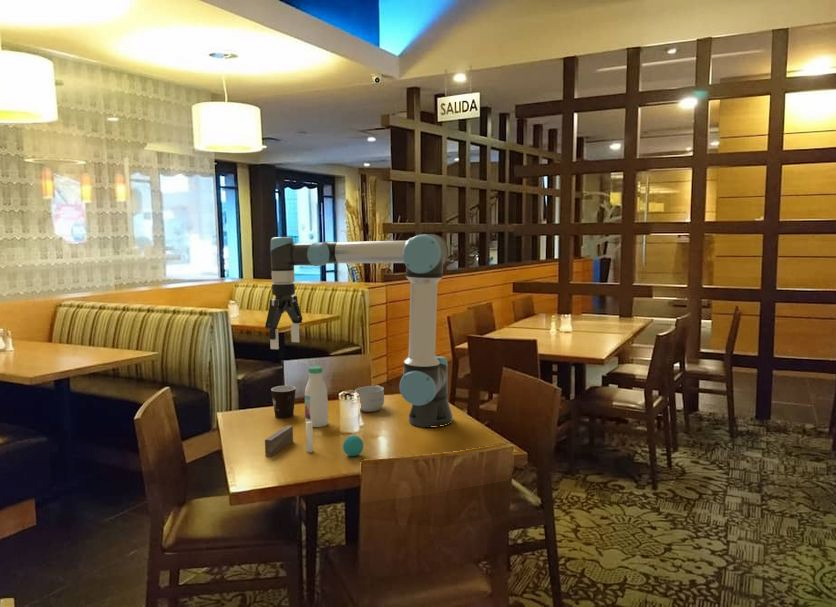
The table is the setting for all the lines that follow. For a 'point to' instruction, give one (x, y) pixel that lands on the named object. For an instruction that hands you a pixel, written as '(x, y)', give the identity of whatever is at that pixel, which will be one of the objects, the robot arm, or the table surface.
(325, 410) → the milk bottle
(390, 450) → the table surface
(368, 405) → the teacup
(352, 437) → the ball
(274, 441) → the back wall
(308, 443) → the pin
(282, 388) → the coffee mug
